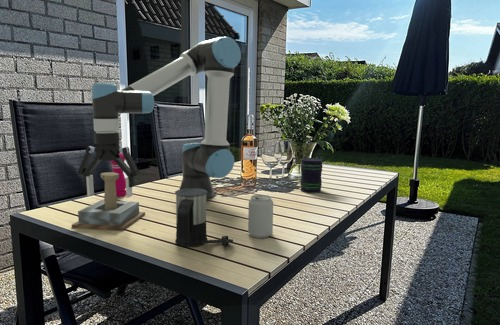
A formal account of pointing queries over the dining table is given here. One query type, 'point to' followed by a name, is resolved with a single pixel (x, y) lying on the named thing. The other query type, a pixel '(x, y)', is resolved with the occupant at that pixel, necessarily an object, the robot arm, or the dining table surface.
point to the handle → (110, 190)
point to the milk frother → (193, 218)
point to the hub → (108, 216)
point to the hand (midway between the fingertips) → (109, 196)
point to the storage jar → (311, 175)
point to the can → (260, 216)
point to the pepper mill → (121, 180)
